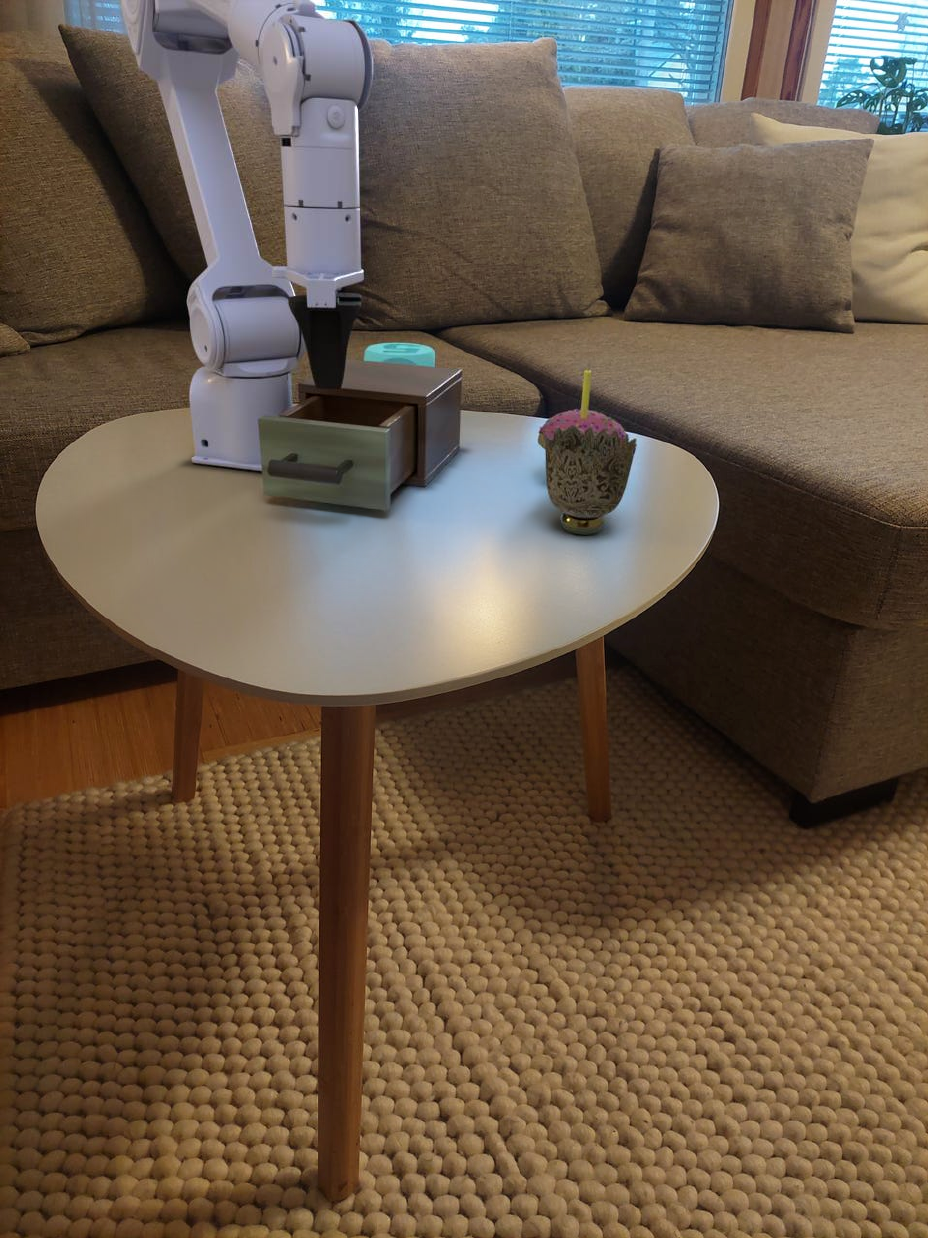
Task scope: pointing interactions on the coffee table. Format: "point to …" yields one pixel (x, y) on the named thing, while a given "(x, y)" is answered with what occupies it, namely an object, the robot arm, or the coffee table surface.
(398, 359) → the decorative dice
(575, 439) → the cup
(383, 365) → the cabinet
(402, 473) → the drawer
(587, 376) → the cupcake
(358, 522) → the coffee table surface
